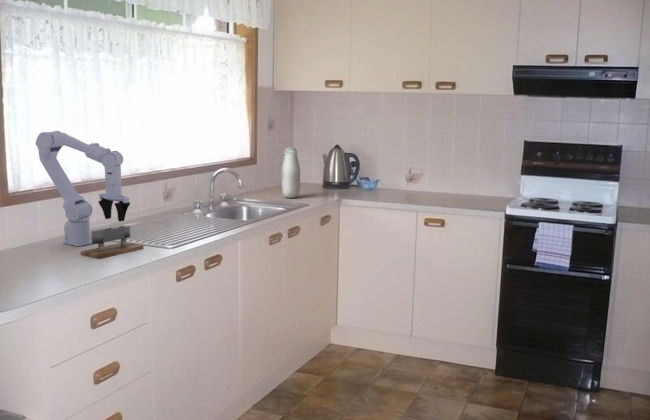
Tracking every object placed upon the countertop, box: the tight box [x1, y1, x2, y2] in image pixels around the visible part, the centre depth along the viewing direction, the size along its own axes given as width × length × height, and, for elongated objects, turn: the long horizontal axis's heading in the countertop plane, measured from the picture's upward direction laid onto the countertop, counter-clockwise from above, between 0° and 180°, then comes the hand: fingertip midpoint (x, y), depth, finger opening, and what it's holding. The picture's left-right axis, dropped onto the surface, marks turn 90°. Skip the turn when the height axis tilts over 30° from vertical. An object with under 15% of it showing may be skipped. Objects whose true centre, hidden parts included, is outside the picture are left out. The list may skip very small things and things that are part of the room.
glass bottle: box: [280, 146, 301, 199], centre depth 381 cm, size 10×10×28 cm
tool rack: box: [80, 238, 144, 260], centre depth 252 cm, size 10×20×4 cm, turn 146°
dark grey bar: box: [90, 224, 131, 245], centre depth 251 cm, size 4×16×4 cm, turn 146°
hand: (114, 219), depth 260 cm, fingers open, 7 cm apart
